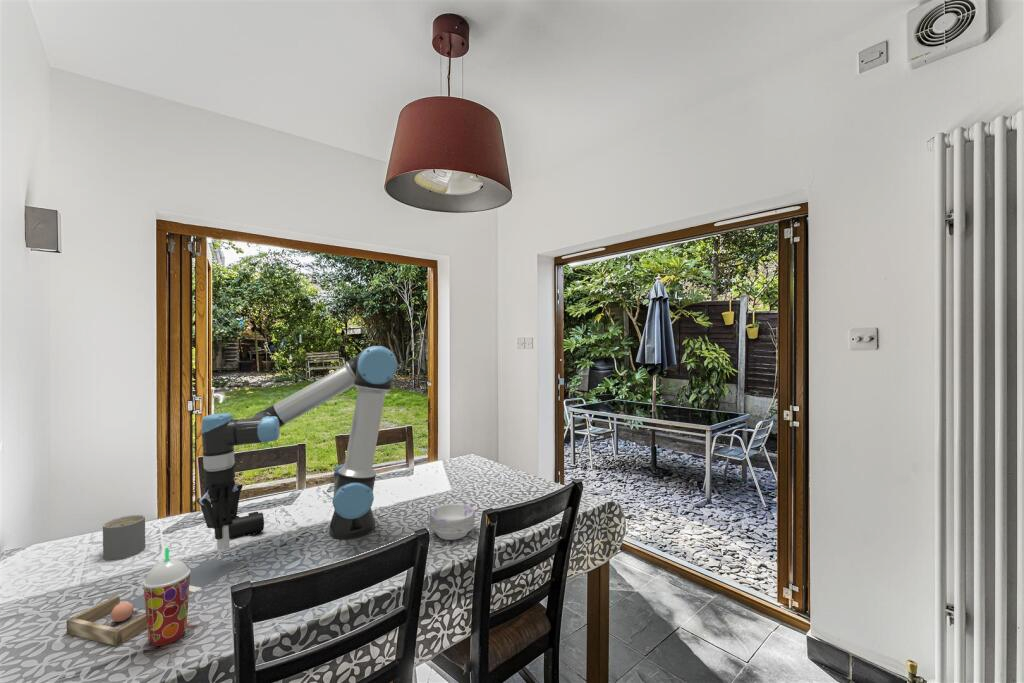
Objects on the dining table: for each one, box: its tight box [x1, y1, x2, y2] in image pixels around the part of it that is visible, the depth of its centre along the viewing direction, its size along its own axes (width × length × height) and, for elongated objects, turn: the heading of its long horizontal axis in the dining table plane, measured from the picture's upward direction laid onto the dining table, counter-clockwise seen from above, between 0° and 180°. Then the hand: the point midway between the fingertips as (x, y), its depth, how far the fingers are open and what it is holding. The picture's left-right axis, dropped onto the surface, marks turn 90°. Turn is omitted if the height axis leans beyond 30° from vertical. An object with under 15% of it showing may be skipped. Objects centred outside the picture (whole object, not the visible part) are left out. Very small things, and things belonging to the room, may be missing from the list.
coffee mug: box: [102, 514, 146, 561], centre depth 140 cm, size 13×10×10 cm
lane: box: [128, 557, 245, 615], centre depth 119 cm, size 12×24×1 cm, turn 164°
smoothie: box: [142, 547, 191, 647], centre depth 98 cm, size 8×8×20 cm
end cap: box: [229, 511, 265, 539], centre depth 150 cm, size 10×7×7 cm
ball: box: [110, 601, 134, 623], centre depth 105 cm, size 4×4×4 cm
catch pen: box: [66, 595, 148, 647], centre depth 103 cm, size 16×10×3 cm, turn 74°
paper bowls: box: [429, 503, 476, 541], centre depth 149 cm, size 15×15×8 cm
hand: (223, 548), depth 128 cm, fingers closed
